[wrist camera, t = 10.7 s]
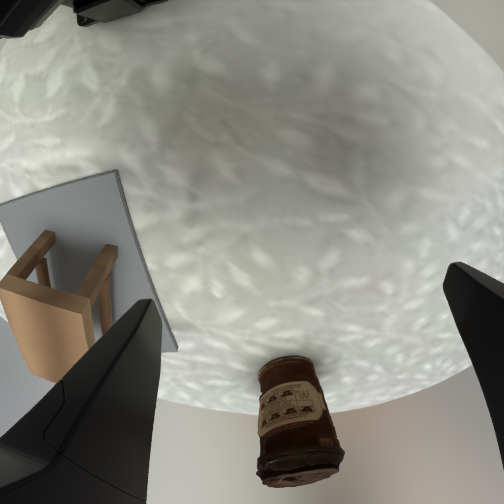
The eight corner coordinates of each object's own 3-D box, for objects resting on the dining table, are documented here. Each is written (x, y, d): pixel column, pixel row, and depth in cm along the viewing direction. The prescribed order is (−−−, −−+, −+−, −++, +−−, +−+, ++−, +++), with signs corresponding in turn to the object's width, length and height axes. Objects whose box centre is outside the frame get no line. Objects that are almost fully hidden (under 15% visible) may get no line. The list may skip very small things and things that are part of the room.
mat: (-2, 205, 19) (-5, 208, 18) (117, 169, 19) (114, 172, 18) (73, 348, 28) (72, 352, 28) (178, 347, 28) (177, 351, 28)
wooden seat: (58, 316, 25) (31, 373, 19) (45, 229, 20) (-4, 286, 14) (119, 332, 26) (99, 396, 20) (117, 246, 21) (81, 314, 15)
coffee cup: (232, 365, 30) (235, 481, 19) (305, 337, 28) (333, 460, 17) (269, 397, 34) (279, 493, 23) (332, 375, 33) (356, 474, 22)
